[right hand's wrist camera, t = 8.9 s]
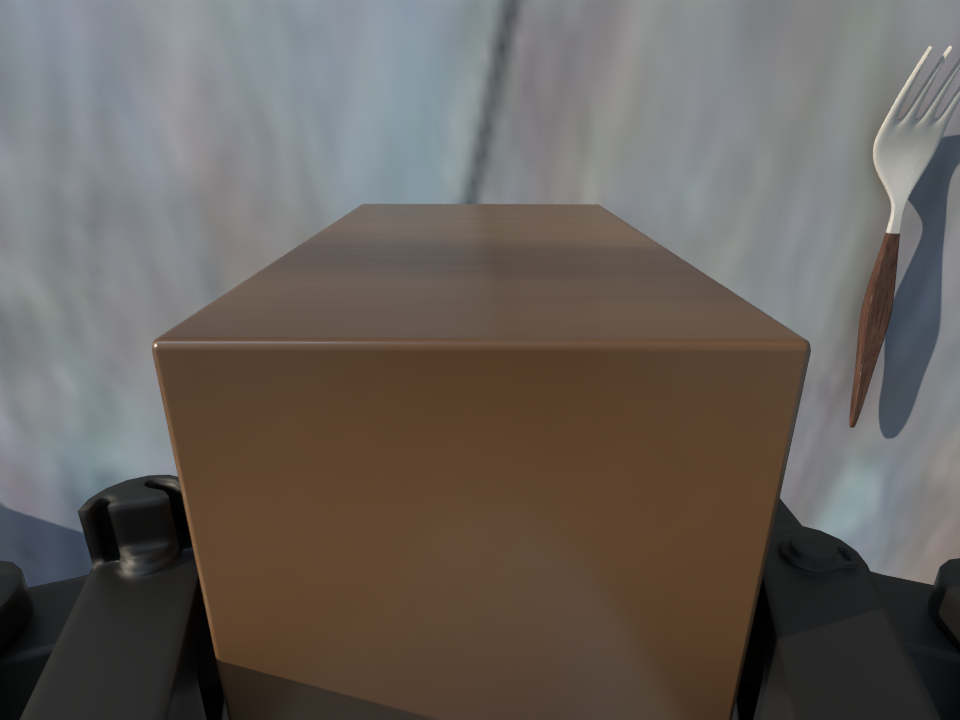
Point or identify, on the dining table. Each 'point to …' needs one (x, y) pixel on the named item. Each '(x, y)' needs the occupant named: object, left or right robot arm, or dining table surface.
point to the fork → (897, 209)
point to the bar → (480, 470)
